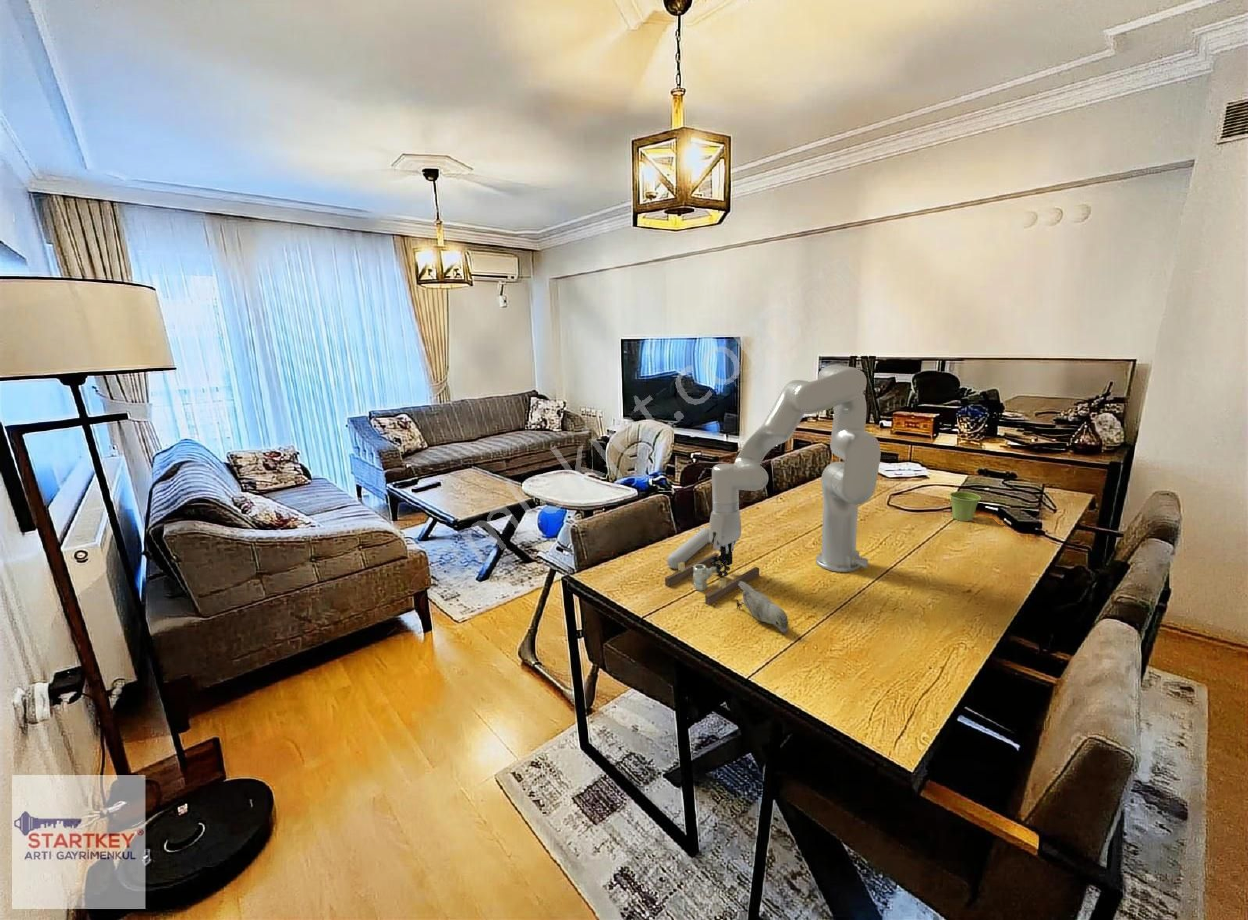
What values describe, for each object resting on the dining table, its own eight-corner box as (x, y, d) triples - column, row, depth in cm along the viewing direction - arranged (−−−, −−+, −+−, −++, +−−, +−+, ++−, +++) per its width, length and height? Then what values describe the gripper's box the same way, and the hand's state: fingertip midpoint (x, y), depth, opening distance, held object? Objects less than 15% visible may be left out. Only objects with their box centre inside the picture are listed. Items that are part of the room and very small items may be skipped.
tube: (680, 561, 157) (714, 532, 176) (665, 552, 159) (701, 525, 179) (676, 575, 159) (710, 544, 179) (661, 566, 161) (697, 537, 181)
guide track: (759, 575, 152) (759, 560, 151) (708, 605, 138) (708, 588, 137) (715, 559, 164) (715, 545, 163) (665, 585, 150) (664, 570, 149)
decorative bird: (777, 638, 122) (777, 610, 120) (732, 609, 136) (732, 584, 134) (794, 631, 124) (794, 603, 122) (748, 603, 138) (748, 578, 136)
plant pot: (978, 516, 186) (980, 493, 184) (978, 525, 178) (981, 501, 176) (947, 512, 191) (949, 490, 189) (947, 521, 183) (949, 498, 181)
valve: (704, 594, 144) (730, 578, 151) (704, 572, 142) (730, 558, 150) (686, 586, 148) (712, 572, 156) (686, 565, 147) (712, 552, 155)
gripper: (731, 497, 158) (732, 552, 162) (698, 509, 148) (700, 568, 153) (751, 502, 152) (751, 559, 156) (719, 515, 143) (720, 576, 147)
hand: (726, 563), depth 155 cm, fingers closed
